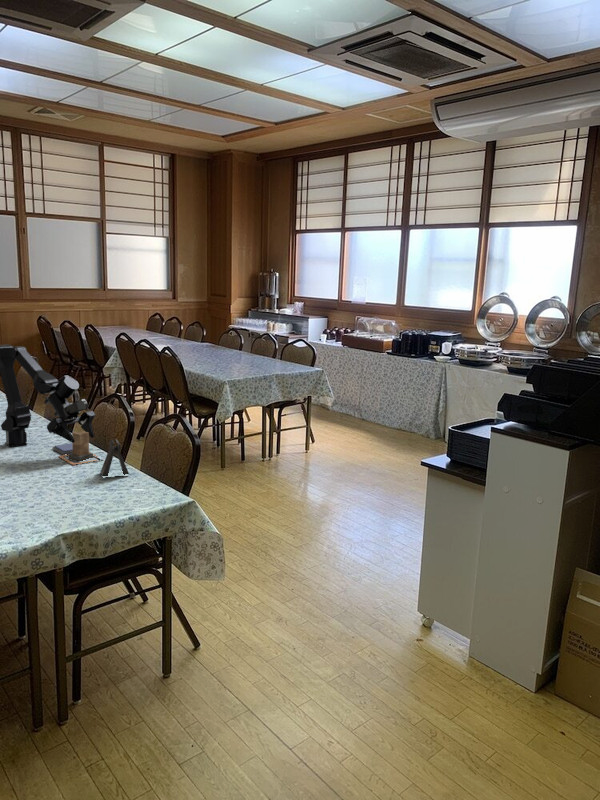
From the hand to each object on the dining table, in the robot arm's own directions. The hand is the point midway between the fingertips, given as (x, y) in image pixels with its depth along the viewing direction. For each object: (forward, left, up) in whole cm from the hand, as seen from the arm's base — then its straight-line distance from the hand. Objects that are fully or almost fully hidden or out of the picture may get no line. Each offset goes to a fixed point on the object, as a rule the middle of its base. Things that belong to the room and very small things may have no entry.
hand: (83, 439), depth 222 cm
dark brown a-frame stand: (+1, -22, -8) cm, 24 cm away
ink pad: (+1, +14, -8) cm, 16 cm away
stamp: (0, +2, -8) cm, 8 cm away
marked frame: (0, +1, -8) cm, 8 cm away
